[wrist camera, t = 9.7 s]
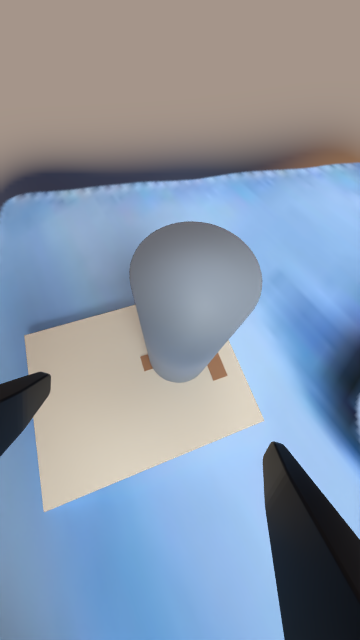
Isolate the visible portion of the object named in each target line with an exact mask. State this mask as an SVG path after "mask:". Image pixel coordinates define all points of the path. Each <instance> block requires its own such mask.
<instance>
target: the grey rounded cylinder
mask: <svg viewBox="0 0 360 640" xmlns="http://www.w3.org/2000/svg"><path fill="white" fill-rule="evenodd" d="M129 275H130V284H131V289H132V293H133V297H134V301H135V305H136V309H137V313H138V317H139V321H140V325H141V329H142V333H143V336H144V340H145V344H146V348H147V352H148V356H149V360H150V363H151V366H152V368H153V369H154V371H155V372H156V373H157V374H158V375H159V376H160V377H162V378H163V379H165V380H167V381H170V382H175V383H182V382H187V381H190V380H192V379H194V378H195V377H197V376H198V375H199V374H200V373H201V372H202V371H203V369H204V368H205V367H206V366H207V365H208V364H209V362H210V361H211V360H212V359H213V358H214V356H215V355H216V354H217V353H218V352H219V350H220V349H221V348H222V347H223V346H224V344H225V343H226V342H227V341H228V340H229V339H230V337H231V336H232V335H233V334H234V333H235V331H236V330H237V329H238V328H239V327H240V325H241V324H242V323H243V322H244V321H245V319H246V318H247V317H248V316H249V315H250V313H251V312H252V311H253V310H254V308H255V306H256V305H257V303H258V300H259V298H260V295H261V290H262V275H261V270H260V266H259V264H258V261H257V259H256V257H255V256H254V254H253V252H252V251H251V250H250V248H249V247H248V246H247V245H246V244H245V243H244V242H243V241H242V240H241V239H240V238H238V237H237V236H236V235H234V234H233V233H231V232H229V231H227V230H225V229H223V228H221V227H218V226H216V225H212V224H209V223H203V222H180V223H174V224H170V225H167V226H165V227H162V228H160V229H158V230H156V231H155V232H153V233H152V234H150V235H149V236H148V237H146V238H145V239H144V240H143V241H142V243H141V244H140V245H139V246H138V248H137V249H136V251H135V253H134V255H133V257H132V261H131V264H130V271H129Z"/></svg>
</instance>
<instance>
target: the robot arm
mask: <svg viewBox="0 0 360 640" xmlns="http://www.w3.org/2000/svg"><path fill="white" fill-rule="evenodd" d="M50 391H51V375H50V374H48V373H45V372H36V373H33V374H30V375H27V376H24V377H21V378H18V379H15V380H12V381H8V382H5V383H2V384H0V456H1V455H2V454H3V453H4V452H5V451H6V449H7V448H8V447H9V446H10V445H11V444H12V443H13V442H14V440H15V439H16V438H17V437H18V436H19V435H20V434H21V432H22V431H23V430H24V429H25V427H26V426H27V425H28V423H29V422H30V421H31V419H32V418H33V417H34V415H35V414H36V412H37V411H38V410H39V408H40V407H41V406H42V404H43V403H44V401H45V400H46V399H47V397H48V396H49V394H50ZM263 477H264V497H265V509H266V517H267V523H268V530H269V537H270V544H271V551H272V557H273V564H274V571H275V578H276V584H277V591H278V598H279V605H280V611H281V618H282V625H283V632H284V639H285V640H360V539H359V538H358V537H357V536H356V534H355V533H354V532H353V531H352V529H351V528H350V527H349V526H348V524H347V523H346V522H345V521H344V519H343V518H342V517H341V516H340V514H339V513H338V512H337V511H336V509H335V508H334V507H333V506H332V504H331V503H330V502H329V501H328V499H327V498H326V497H325V496H324V494H323V493H322V492H321V491H320V489H319V488H318V487H317V486H316V484H315V483H314V482H313V481H312V479H311V478H310V477H309V476H308V474H307V473H306V472H305V471H304V469H303V468H302V467H301V466H300V464H299V463H298V462H297V461H296V459H295V458H294V457H293V456H292V454H291V453H290V452H289V451H288V449H287V448H286V447H285V446H284V445H283V444H281V443H277V442H271V443H270V445H269V447H268V449H267V451H266V452H265V454H264V457H263Z"/></svg>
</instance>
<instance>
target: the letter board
mask: <svg viewBox="0 0 360 640" xmlns="http://www.w3.org/2000/svg"><path fill="white" fill-rule="evenodd" d="M24 337H25V346H26V355H27V364H28V373H29V375H30V374H33V373H36V372H45V373H48V374H50V375H51V391H50V394H49V396H48V397H47V399H46V400H45V401H44V403H43V404H42V406H41V407H40V408H39V410H38V411H37V412H36V414H35V415H34V417H33V419H34V428H35V437H36V446H37V455H38V464H39V473H40V482H41V491H42V500H43V509H44V512H46V511H48V510H51V509H53V508H55V507H58V506H60V505H63V504H65V503H67V502H70V501H72V500H75V499H77V498H79V497H82V496H84V495H87V494H89V493H92V492H94V491H96V490H99V489H101V488H104V487H106V486H108V485H111V484H113V483H116V482H118V481H120V480H123V479H125V478H128V477H130V476H132V475H135V474H137V473H140V472H142V471H144V470H147V469H149V468H152V467H154V466H156V465H159V464H161V463H164V462H166V461H168V460H171V459H173V458H176V457H178V456H180V455H183V454H185V453H188V452H190V451H192V450H195V449H197V448H200V447H202V446H204V445H207V444H209V443H212V442H214V441H217V440H219V439H221V438H224V437H226V436H229V435H231V434H233V433H236V432H238V431H241V430H243V429H245V428H248V427H250V426H253V425H255V424H257V423H260V422H262V421H264V419H263V416H262V414H261V412H260V410H259V407H258V405H257V403H256V401H255V398H254V396H253V394H252V392H251V389H250V387H249V385H248V383H247V380H246V378H245V376H244V374H243V372H242V369H241V367H240V365H239V363H238V360H237V358H236V356H235V354H234V351H233V349H232V347H231V345H230V342H229V340H228V341H227V342H226V343H225V344H224V346H223V347H222V348H221V349H220V350H219V352H218V353H217V354H216V355H215V356H214V358H213V359H212V360H211V361H210V362H209V364H208V365H207V366H206V367H205V368H204V369H203V371H202V372H201V373H200V374H199V375H198V376H197V377H195V378H194V379H192V380H190V381H187V382H182V383H175V382H170V381H167V380H165V379H163V378H162V377H160V376H159V375H158V374H157V373H156V372H155V371H154V369H153V368H152V366H151V363H150V360H149V356H148V352H147V348H146V344H145V340H144V336H143V333H142V329H141V325H140V321H139V317H138V313H137V309H136V305H132V306H129V307H125V308H122V309H118V310H114V311H111V312H107V313H103V314H100V315H96V316H93V317H89V318H85V319H82V320H78V321H75V322H71V323H67V324H64V325H60V326H57V327H53V328H49V329H46V330H42V331H39V332H35V333H31V334H28V335H24Z"/></svg>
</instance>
